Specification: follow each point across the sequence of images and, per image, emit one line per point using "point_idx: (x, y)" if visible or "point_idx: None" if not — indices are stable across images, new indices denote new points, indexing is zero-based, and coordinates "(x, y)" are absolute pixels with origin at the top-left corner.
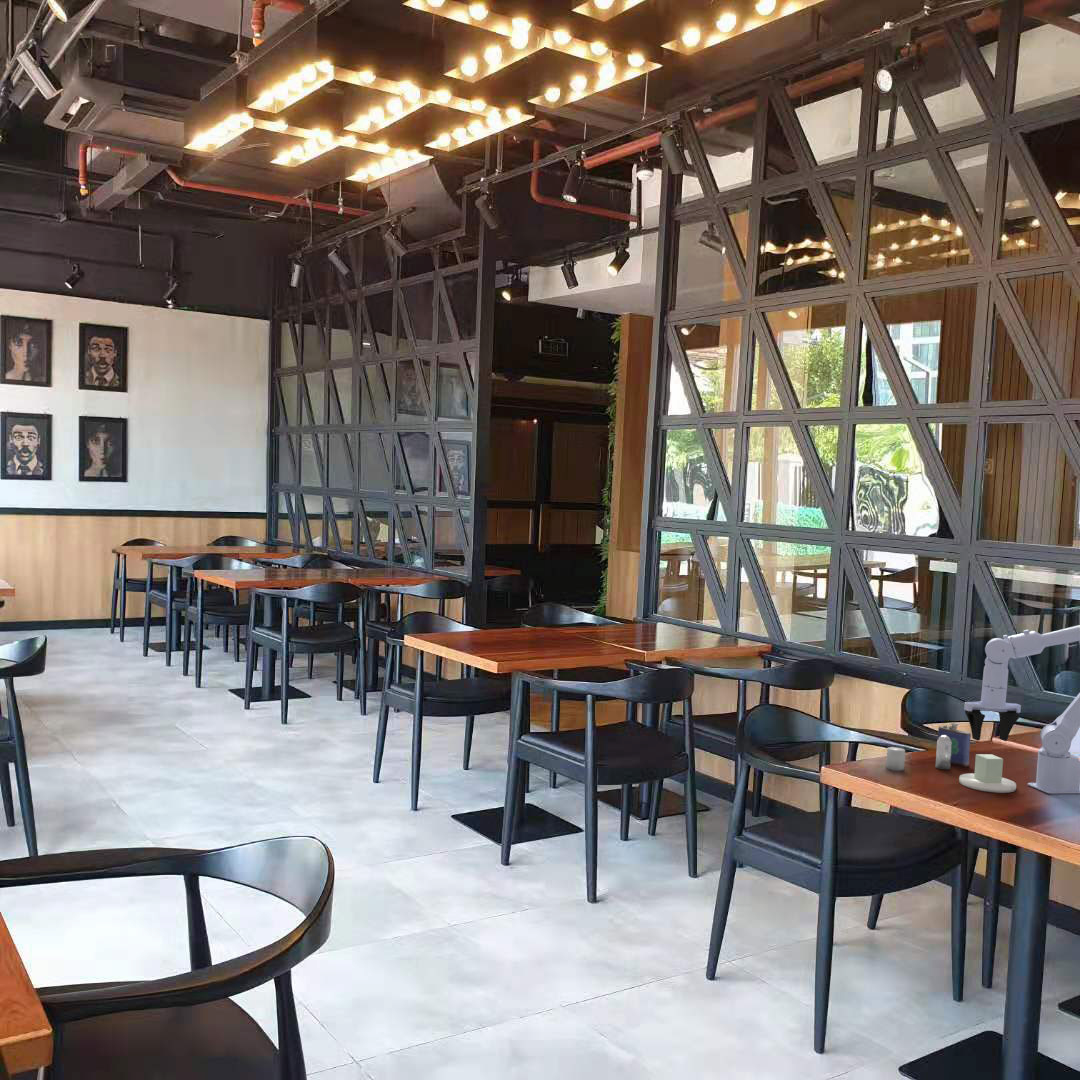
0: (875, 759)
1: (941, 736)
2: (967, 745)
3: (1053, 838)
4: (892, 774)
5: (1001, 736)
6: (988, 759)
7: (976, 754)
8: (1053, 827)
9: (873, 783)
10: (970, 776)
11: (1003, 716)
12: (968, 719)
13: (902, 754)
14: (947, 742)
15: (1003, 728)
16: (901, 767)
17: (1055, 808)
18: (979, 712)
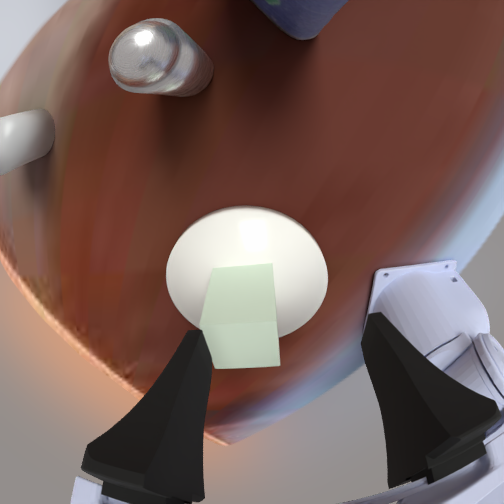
0: (26, 49)
1: (111, 58)
2: (320, 15)
3: (216, 441)
4: (29, 202)
5: (371, 337)
6: (222, 367)
7: (201, 326)
8: (237, 429)
9: (13, 275)
10: (208, 251)
11: (414, 441)
12: (127, 416)
13: (15, 166)
14: (146, 87)
15: (388, 379)
16: (41, 155)
17: (302, 391)
18: (177, 501)
